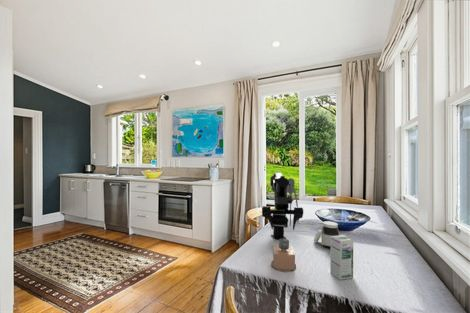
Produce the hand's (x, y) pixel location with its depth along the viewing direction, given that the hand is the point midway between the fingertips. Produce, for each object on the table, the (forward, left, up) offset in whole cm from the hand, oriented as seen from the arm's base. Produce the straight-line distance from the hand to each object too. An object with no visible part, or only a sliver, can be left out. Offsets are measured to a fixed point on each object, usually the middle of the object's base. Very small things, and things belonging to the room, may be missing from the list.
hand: (283, 229), depth 101 cm
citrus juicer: (-48, +31, -13) cm, 58 cm away
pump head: (+8, -3, -10) cm, 13 cm away
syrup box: (+19, +15, -13) cm, 27 cm away
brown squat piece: (+7, -3, -13) cm, 15 cm away
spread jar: (-8, +28, -13) cm, 32 cm away
